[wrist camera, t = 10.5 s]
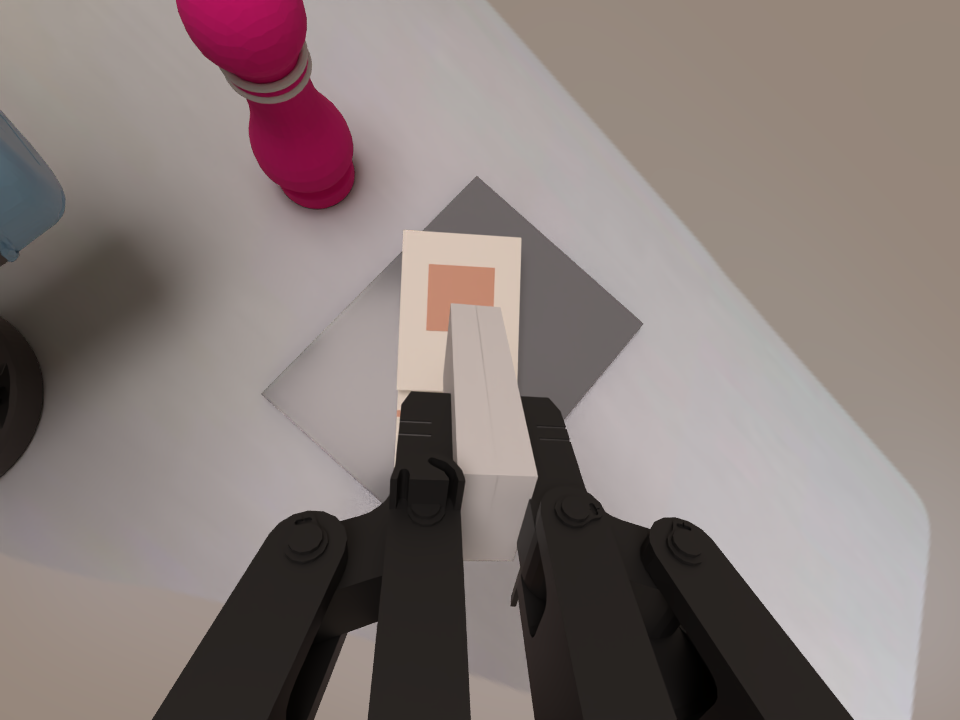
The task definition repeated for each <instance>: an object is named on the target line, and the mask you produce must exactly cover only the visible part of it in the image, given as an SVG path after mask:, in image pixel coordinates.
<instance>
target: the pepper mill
mask: <svg viewBox="0 0 960 720" xmlns="http://www.w3.org/2000/svg"><path fill="white" fill-rule="evenodd" d="M176 3H177V8H178V12H179V15H180V17H181V20H182V22H183V24H184V26H185V29H186V31H187V33H188V35H189V36H190V38H191V40H192V41H193V42H194V44H195V45H196V46H197V47H198V49H199V50H200V51H201V52H202V54H203V55H204V56H205V57H206V58H208V59H209V60H210V61H212V62H213V63H215V64H216V65H218V66H219V68H220V70H221V71H222V73H223V74H224V75H225V78H226V80H227V81H228V83H229V84H230V86H231V87H232V88H233V89H234V90H235V91H236V92H237V93H238V94H240V95H241V96H243V97H244V98H246V99H247V102H248V104H249V108H250V121H249V137H250V143H251V147H252V150H253V153H254V155H255V157H256V159H257V161H258V163H259V165H260V167H261V169H262V170H263V171H264V173H265V174H266V175H267V176H268V177H269V178H270V179H271V180H273V181H274V182H275V183H276V184H278V185H280V186H281V188H282V190H283V191H284V193H285V194H286V195H287V196H288V197H289V198H290V199H291V200H292V201H294V202H295V203H297V204H299V205H301V206H303V207H307V208H312V209H321V208H327V207H330V206H333V205H335V204H337V203H339V202H340V201H342V200H343V199H344V198H345V197H346V196H347V195H348V193H349V192H350V190H351V188H352V186H353V183H354V177H355V171H354V166H353V162H352V156H353V141H352V136H351V133H350V131H349V128H348V126H347V123H346V121H345V119H344V118H343V116H342V114H341V113H340V112H339V110H338V109H337V108H336V107H335V106H334V104H333V103H332V102H330V101H329V100H328V99H327V98H326V97H325V96H323V95H322V94H321V93H319V92H318V91H317V90H316V89H315V87H314V86H313V84H312V82H311V79H310V75H311V70H312V61H311V57H310V53H309V51H308V49H307V44H306V41H305V37H306V31H307V17H306V13H305V8H304V4H303V1H302V0H176Z"/></svg>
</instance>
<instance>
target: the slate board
mask: <svg viewBox="0 0 960 720" xmlns="http://www.w3.org/2000/svg"><path fill="white" fill-rule="evenodd" d="M423 231H428V232H443V233H459V234H474V235H489V236H504V237H519V238H521V272H520V307H519V341H518V376H517V384H518V389H519V393H520V396H530V397H547V398H550V400H551V401H552V402H553V403H554V404H555V405H556V406H557V408H558V409H559V410H560V411H561V414H562V417H563V420H564V419H565V418H566V417H567V415H568V414H569V413H570V412H571V410H572V409H573V408H574V407H575V406H576V404H577V403H578V402H579V401H580V400H581V398H582V397H583V396H584V395H585V394H586V392H587V391H588V390H589V389H590V388H591V386H592V385H593V384H594V383H595V382H596V380H597V379H598V378H599V377H600V376H601V374H602V373H603V372H604V371H605V370H606V368H607V367H608V366H609V365H610V363H611V362H612V361H613V360H614V359H615V357H616V356H617V355H618V354H619V353H620V351H621V350H622V349H623V348H624V347H625V345H626V344H627V343H628V342H629V341H630V339H631V338H632V337H633V336H634V335H635V333H636V332H637V331H638V330H639V329H640V327H641V326H642V325H643V323H642V322H641V321H640V320H639V319H638V318H637V317H635V316H634V315H633V314H632V313H631V312H630V311H629V310H628V309H626V308H625V307H624V306H623V305H622V304H621V303H620V302H619V301H617V300H616V299H615V298H614V297H613V296H612V295H611V294H609V293H608V292H607V291H606V290H605V289H604V288H603V287H602V286H600V285H599V284H598V283H597V282H596V281H595V280H594V279H593V278H591V277H590V276H589V275H588V274H587V273H586V272H585V271H584V270H582V269H581V268H580V267H579V266H578V265H577V264H576V263H575V262H573V261H572V260H571V259H570V258H569V257H568V256H567V255H566V254H564V253H563V252H562V251H561V250H560V249H559V248H558V247H556V246H555V245H554V244H553V243H552V242H551V241H550V240H549V239H547V238H546V237H545V236H544V235H543V234H542V233H541V232H540V231H538V230H537V229H536V228H535V227H534V226H533V225H532V224H531V223H529V222H528V221H527V220H526V219H525V218H524V217H523V216H522V215H520V214H519V213H518V212H517V211H516V210H515V209H514V208H513V207H511V206H510V205H509V204H508V203H507V202H506V201H505V200H504V199H502V198H501V197H500V196H499V195H498V194H497V193H496V192H494V191H493V190H492V189H491V188H490V187H489V186H488V185H487V184H485V183H484V182H483V181H482V180H481V179H480V178H479V177H478V176H476V177H475V178H474V179H473V180H472V181H471V182H470V183H469V184H468V185H467V186H466V187H465V188H464V189H463V190H462V191H461V192H460V193H459V194H458V195H457V196H456V197H455V198H454V199H453V200H452V201H451V202H450V204H449V205H448V206H447V207H446V208H445V209H444V210H443V211H442V212H441V213H440V214H439V215H438V216H437V217H436V218H435V219H434V220H433V221H432V222H431V223H430V224H429V225H428V226H427V227H426V228H425V229H424V230H423ZM401 274H402V252H401V253H400V254H399V255H398V256H397V257H396V258H395V259H394V260H393V261H392V262H391V263H390V264H389V265H388V266H387V267H386V268H385V269H384V270H383V271H382V272H381V273H380V274H379V275H378V276H377V277H376V278H375V279H374V280H373V281H372V282H371V283H370V284H369V285H368V286H367V287H366V288H365V289H364V290H363V291H362V292H361V293H360V294H359V296H358V297H357V298H356V299H355V300H354V301H353V302H352V303H351V304H350V305H349V306H348V307H347V308H346V309H345V310H344V311H343V312H342V313H341V314H340V315H339V316H338V317H337V318H336V319H335V320H334V321H333V322H332V323H331V324H330V325H329V326H328V327H327V328H326V329H325V330H324V331H323V332H322V333H321V334H320V335H319V336H318V337H317V338H316V339H315V340H314V341H313V342H312V343H311V344H310V345H309V346H308V347H307V348H306V349H305V350H304V351H303V352H302V353H301V354H300V355H299V356H298V357H297V358H296V359H295V360H294V361H293V362H292V363H291V364H290V365H289V366H288V367H287V368H286V369H285V370H284V371H283V372H282V373H281V374H280V375H279V376H278V377H277V378H276V379H275V380H274V381H273V382H272V383H271V384H270V385H269V386H268V388H267V389H266V390H265V391H264V392H263V393H262V395H263V396H264V397H265V398H266V399H267V400H268V401H269V402H270V403H272V404H273V405H274V406H275V407H276V408H277V409H278V410H279V411H280V412H282V413H283V414H284V415H285V416H286V417H287V418H288V419H289V420H290V421H292V422H293V423H294V424H295V425H296V426H297V427H298V428H299V429H300V430H302V431H303V432H304V433H305V434H306V435H307V436H308V437H309V438H310V439H312V440H313V441H314V442H315V443H316V444H317V445H318V446H319V447H320V448H322V449H323V450H324V451H325V452H326V453H327V454H328V455H329V456H330V457H332V458H333V459H334V460H335V461H336V462H337V463H338V464H339V465H340V466H342V467H343V468H344V469H345V470H346V471H347V472H348V473H349V474H350V475H352V476H353V477H354V478H355V479H356V480H357V481H358V482H359V483H360V484H361V485H363V486H364V487H365V488H366V489H367V490H368V491H369V492H370V493H371V494H373V495H374V496H375V497H376V498H377V499H378V500H379V501H380V502H381V503H383V502H384V501H385V500H386V499H387V497H388V496H389V494H390V478H391V475H392V472H393V470H394V462H395V442H396V421H397V401H398V390H397V367H398V344H399V320H400V297H401Z"/></svg>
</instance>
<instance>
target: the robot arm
mask: <svg viewBox="0 0 960 720" xmlns="http://www.w3.org/2000/svg"><path fill="white" fill-rule="evenodd" d="M64 209H65V195H64V192H63V189H62V187H61V185H60V183H59V181H58V179H57V178H56V176H55V175H54V173H53V172H52V170H51V169H50V168H49V166H48V165H47V164H46V162H45V161H44V160H43V159H42V157H41V156H40V155H39V154H38V152H37V151H36V150H35V149H34V148H33V146H32V145H31V144H30V143H29V142H28V141H27V139H26V138H25V137H24V136H23V135H22V134H21V133H20V131H19V130H18V129H17V128H16V127H15V126H14V125H13V124H12V122H11V121H10V120H9V119H8V118H7V117H6V116H5V114H4V113H3V112H2V111H1V110H0V266H2V265H3V264H5V263H6V262H8V261H9V262H13V261H15V260H16V259H17V258H18V257H19V251H20V250H21V249H23V248H24V247H25V246H27V245H28V244H29V243H31V242H32V241H33V240H35V239H36V238H37V237H39V236H40V235H41V234H43V233H44V232H45V231H47V230H48V229H49V228H51V227H52V226H54V225H55V224H56V223H57V222H58V221H59V219H60V218H61V217H62V215H63V213H64ZM42 401H43V383H42V376H41V371H40V367H39V364H38V361H37V359H36V356H35V354H34V352H33V350H32V349H31V347H30V345H29V344H28V342H27V341H26V340H25V338H24V337H23V336H22V335H21V334H20V333H19V332H18V331H17V330H16V329H15V328H14V327H13V326H12V325H11V324H9V323H8V322H7V321H5V320H4V319H2V318H1V317H0V477H1V476H2V475H3V474H4V473H5V472H6V471H7V470H8V469H9V468H10V467H11V466H12V465H13V464H14V463H15V462H16V460H17V459H18V458H19V457H20V455H21V454H22V453H23V451H24V450H25V448H26V447H27V445H28V443H29V441H30V440H31V438H32V436H33V434H34V431H35V429H36V426H37V424H38V420H39V417H40V413H41V409H42ZM565 427H566V426H565V423H564V420H563V417H562V414H561V411H560V410H559V409H558V408H557V406H556V405H555V404H554V403H553V402H552V401H551V400H550V398H547V397H530V396H520V393H519V389H518V384H517V380H516V375H515V371H514V366H513V362H512V357H511V353H510V348H509V344H508V339H507V335H506V330H505V326H504V321H503V317H502V312H501V308H500V307H492V306H480V305H467V304H455V303H451V305H450V315H449V324H448V334H447V343H446V353H445V362H444V372H443V393H436V392H418V391H411V392H410V393H409V395H408V396H407V397H406V399H405V400H404V401H403V403H402V404H401V412H400V423H399V432H398V441H397V451H396V461H395V467H394V470H393V472H392V475H391V478H390V494H389V496H388V497H387V499H386V500H385V501H384V502H383V503H382V504H381V505H380V506H379V507H377V508H376V509H374V510H373V511H371V512H369V513H366V514H364V515H361V516H358V517H354V518H350V519H347V520H343V521H339V520H338V519H337V518H336V517H335V516H333V515H330V514H328V513H326V512H324V511H305V512H301V513H298V514H294V515H292V516H290V517H288V518H287V519H285V520H283V521H282V522H280V523H279V524H278V525H277V526H276V527H275V528H274V529H273V530H272V532H271V533H270V534H269V535H268V537H267V538H266V540H265V541H264V543H263V545H262V546H261V548H260V549H259V551H258V553H257V554H256V556H255V557H254V559H253V560H252V562H251V564H250V565H249V567H248V568H247V570H246V572H245V573H244V575H243V576H242V578H241V579H240V581H239V583H238V584H237V586H236V587H235V589H234V591H233V592H232V594H231V595H230V597H229V598H228V600H227V602H226V603H225V605H224V606H223V608H222V610H221V611H220V613H219V614H218V616H217V618H216V619H215V621H214V622H213V624H212V626H211V627H210V629H209V630H208V632H207V634H206V635H205V636H204V638H203V640H202V641H201V643H200V644H199V646H198V648H197V649H196V651H195V652H194V654H193V655H192V657H191V659H190V660H189V662H188V664H187V665H186V667H185V668H184V670H183V671H182V673H181V674H180V676H179V678H178V679H177V681H176V682H175V684H174V686H173V687H172V689H171V690H170V692H169V694H168V695H167V697H166V698H165V700H164V702H163V703H162V705H161V706H160V708H159V709H158V711H157V712H156V714H155V716H154V717H153V719H152V720H314V718H315V715H316V713H317V710H318V708H319V705H320V702H321V700H322V697H323V694H324V692H325V690H326V687H327V684H328V682H329V679H330V677H331V674H332V672H333V669H334V666H335V663H336V661H337V659H338V656H339V653H340V651H341V648H342V646H343V643H344V641H345V638H346V636H347V633H348V632H350V631H353V630H355V629H358V628H361V627H364V626H367V625H369V624H372V623H375V622H378V624H377V634H376V644H375V654H374V663H373V674H372V683H371V693H370V703H369V712H368V720H471V716H470V694H469V673H468V653H467V632H466V611H465V590H464V569H463V561H513V560H514V557H515V553H516V550H517V548H518V555H519V561H520V570H519V573H518V576H517V579H516V583H515V586H514V589H513V592H512V595H511V606H516V604H517V601H518V600H519V608H520V615H521V622H522V630H523V637H524V644H525V652H526V659H527V666H528V674H529V681H530V688H531V696H532V703H533V710H534V718H535V720H854V719H853V718H852V717H851V715H850V714H849V713H848V712H847V710H846V709H845V708H844V707H843V705H842V704H841V703H840V701H839V700H838V699H837V698H836V696H835V695H834V694H833V693H832V691H831V690H830V689H829V687H828V686H827V685H826V684H825V682H824V681H823V680H822V679H821V677H820V676H819V675H818V673H817V672H816V671H815V670H814V668H813V667H812V666H811V665H810V663H809V662H808V661H807V659H806V658H805V657H804V656H803V654H802V653H801V652H800V651H799V649H798V648H797V647H796V645H795V644H794V643H793V642H792V640H791V639H790V638H789V637H788V635H787V634H786V633H785V631H784V630H783V629H782V628H781V626H780V625H779V624H778V623H777V621H776V620H775V619H774V618H773V616H772V615H771V614H770V612H769V611H768V610H767V609H766V607H765V606H764V605H763V604H762V602H761V601H760V600H759V598H758V597H757V596H756V595H755V593H754V592H753V591H752V590H751V588H750V587H749V586H748V584H747V583H746V582H745V581H744V579H743V578H742V577H741V576H740V574H739V573H738V572H737V570H736V569H735V568H734V567H733V565H732V564H731V563H730V562H729V560H728V559H727V558H726V556H725V555H724V554H723V553H722V551H721V550H720V549H719V548H718V546H717V545H716V544H715V542H714V541H713V540H712V539H711V538H710V537H709V536H708V535H707V534H706V533H705V532H704V531H703V530H702V529H700V528H699V527H697V526H695V525H694V524H692V523H690V522H689V521H685V520H682V519H679V518H676V517H672V518H662V519H660V520H658V521H656V522H654V524H653V525H652V527H651V529H648V528H645V527H642V526H639V525H635V524H632V523H629V522H626V521H623V520H620V519H618V518H615V517H613V516H611V515H609V514H608V513H606V512H605V511H604V509H603V507H602V505H601V503H600V502H599V501H597V500H596V499H595V498H594V497H593V496H592V495H591V494H589V493H587V491H586V488H585V486H584V482H583V479H582V476H581V473H580V470H579V467H578V464H577V461H576V457H575V454H574V451H573V448H572V445H571V442H569V436H568V432H567V429H565Z"/></svg>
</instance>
